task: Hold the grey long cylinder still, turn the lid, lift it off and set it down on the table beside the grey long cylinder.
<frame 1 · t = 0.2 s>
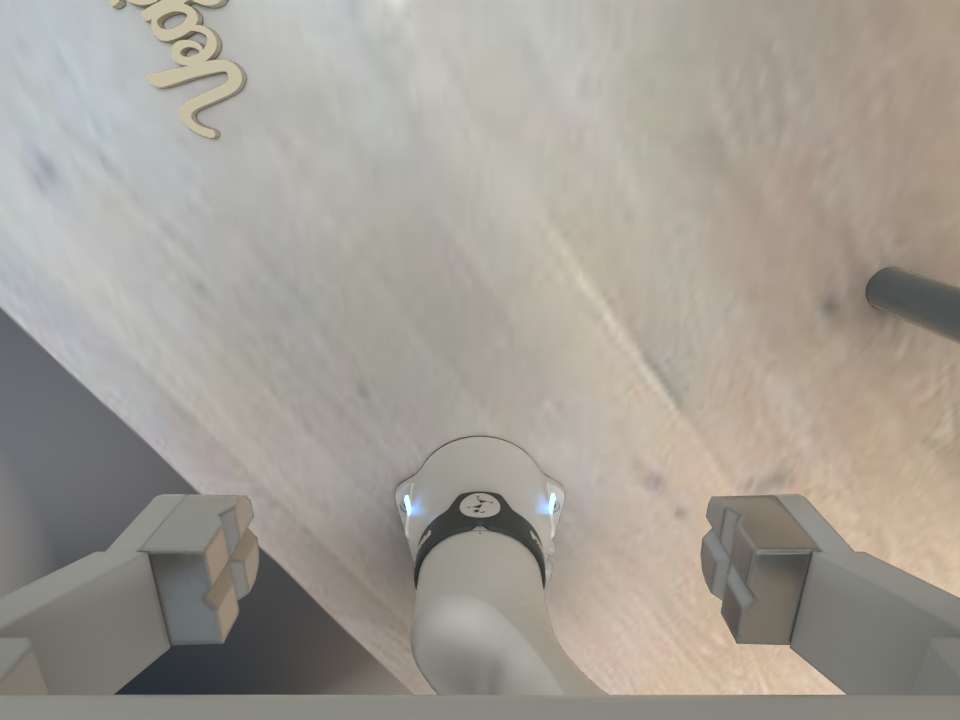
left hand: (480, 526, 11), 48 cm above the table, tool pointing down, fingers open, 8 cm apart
grey long cylinder: (888, 288, 58), on the table
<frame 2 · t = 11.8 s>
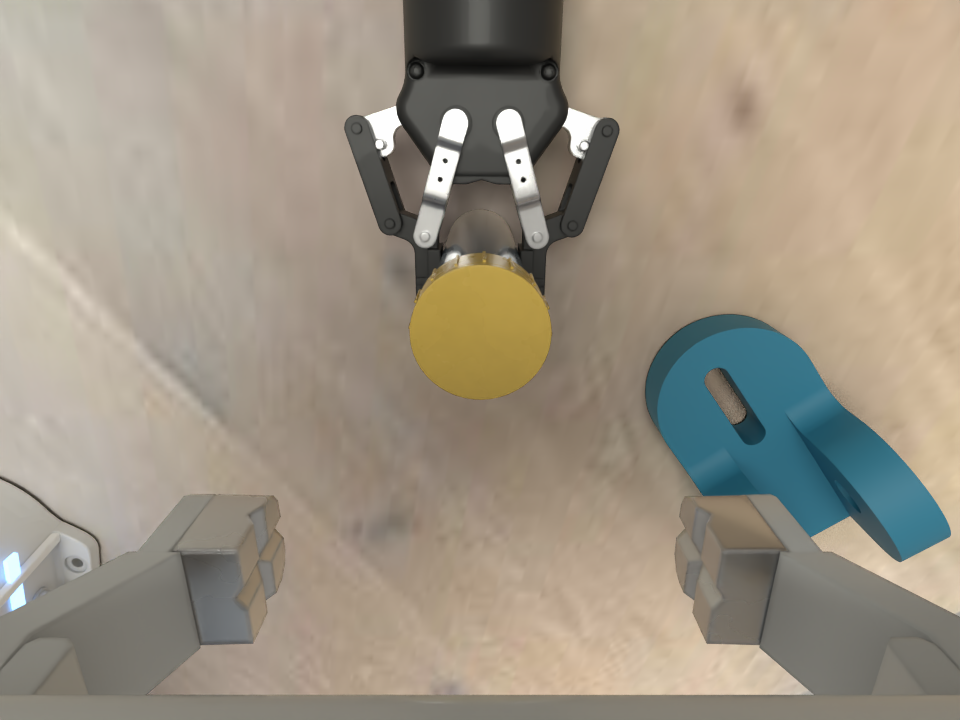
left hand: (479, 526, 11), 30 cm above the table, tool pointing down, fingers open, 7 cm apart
right hand: (480, 311, 33), fingers closed on grey long cylinder, 4 cm apart
camera mount: (743, 421, 43), on the table
grey long cylinder: (480, 242, 39), on the table, touching right hand
lid: (480, 332, 21), point 19 cm above the table, screwed on, not yet turned
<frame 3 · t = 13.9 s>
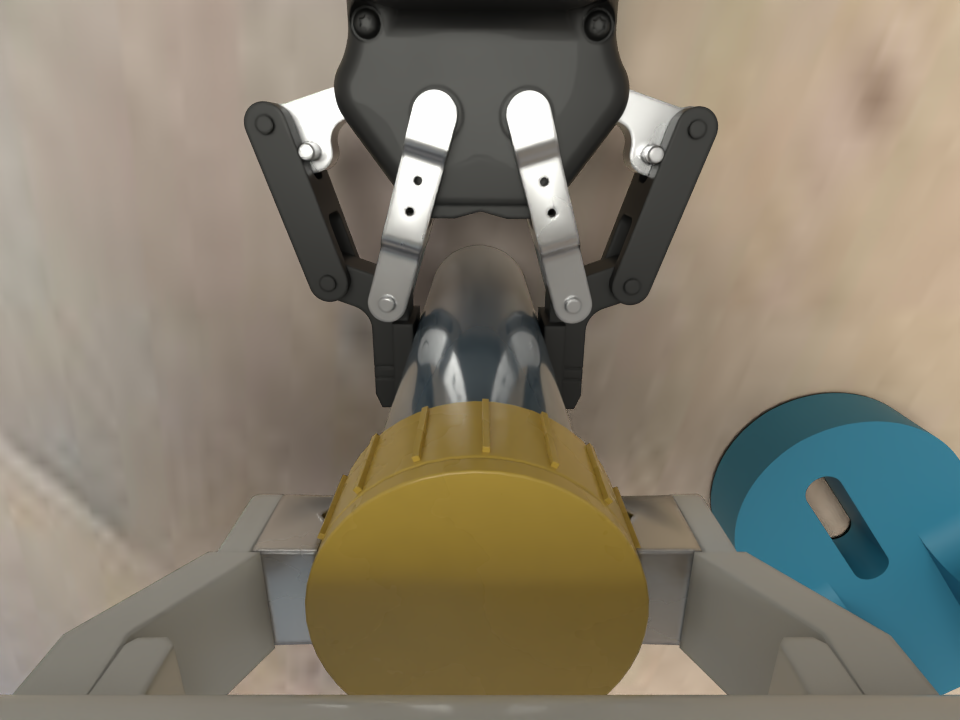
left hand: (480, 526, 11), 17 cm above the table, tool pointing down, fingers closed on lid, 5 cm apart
right hand: (479, 412, 21), fingers closed on grey long cylinder, 4 cm apart
camera mount: (844, 534, 31), on the table
grey long cylinder: (479, 292, 27), on the table, touching right hand
lid: (477, 602, 9), point 19 cm above the table, screwed on, not yet turned, touching left hand
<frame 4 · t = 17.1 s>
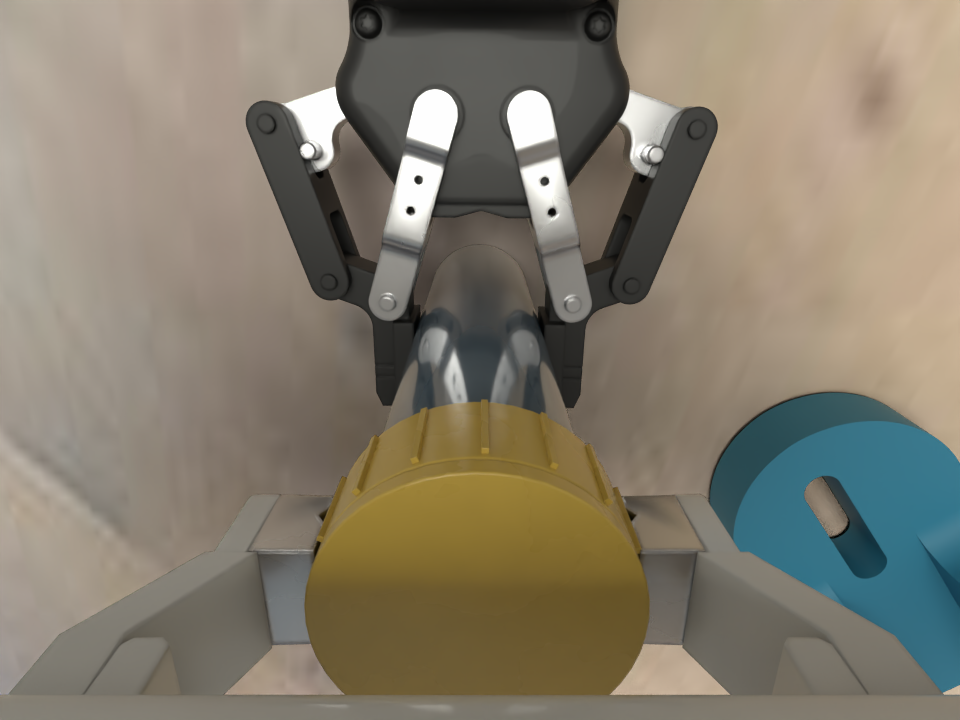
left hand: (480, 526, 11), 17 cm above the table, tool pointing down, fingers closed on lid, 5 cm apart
right hand: (479, 411, 21), fingers closed on grey long cylinder, 4 cm apart
camera mount: (843, 534, 31), on the table
grey long cylinder: (479, 291, 27), on the table, touching right hand
lid: (477, 604, 9), point 19 cm above the table, turned 68° so far, risen 0.1 cm, still on its thread, touching left hand
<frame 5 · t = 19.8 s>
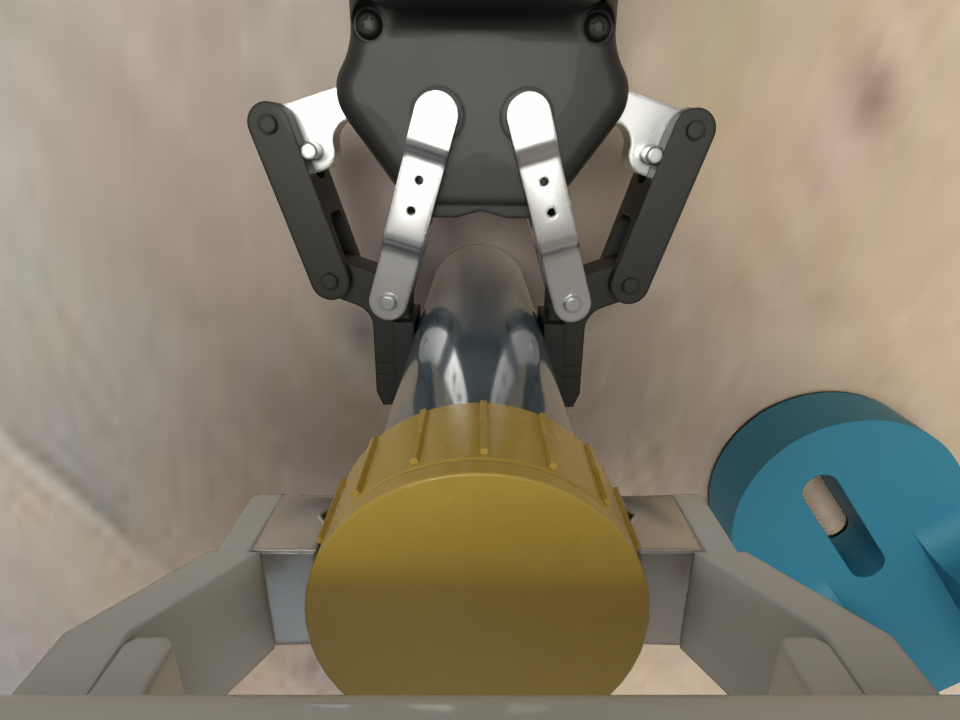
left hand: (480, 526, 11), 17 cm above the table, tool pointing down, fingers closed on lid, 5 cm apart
right hand: (478, 410, 21), fingers closed on grey long cylinder, 4 cm apart
camera mount: (841, 532, 31), on the table
grey long cylinder: (479, 291, 27), on the table, touching right hand
lid: (477, 605, 9), point 19 cm above the table, turned 136° so far, risen 0.2 cm, still on its thread, touching left hand
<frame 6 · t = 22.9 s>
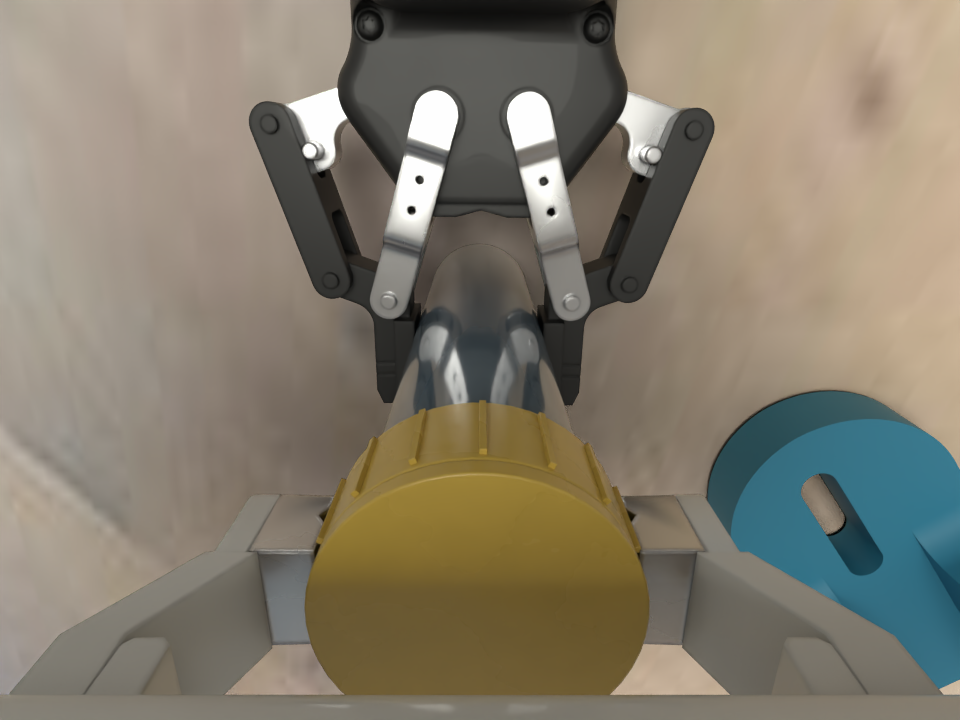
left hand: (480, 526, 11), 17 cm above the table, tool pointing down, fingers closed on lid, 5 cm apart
right hand: (478, 408, 22), fingers closed on grey long cylinder, 4 cm apart
camera mount: (839, 531, 31), on the table
grey long cylinder: (479, 290, 27), on the table, touching right hand
lid: (477, 604, 9), point 19 cm above the table, turned 204° so far, risen 0.3 cm, still on its thread, touching left hand
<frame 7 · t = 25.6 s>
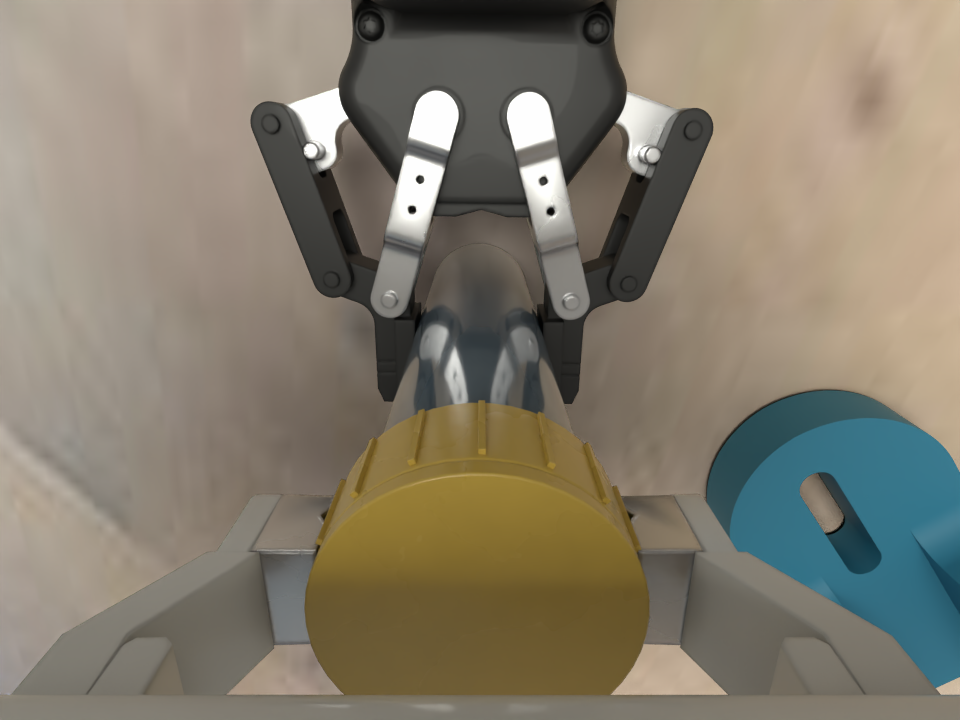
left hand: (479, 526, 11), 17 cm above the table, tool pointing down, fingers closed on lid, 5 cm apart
right hand: (478, 407, 22), fingers closed on grey long cylinder, 4 cm apart
camera mount: (838, 530, 32), on the table
grey long cylinder: (479, 290, 27), on the table, touching right hand
lid: (477, 605, 9), point 19 cm above the table, turned 272° so far, risen 0.5 cm, still on its thread, touching left hand
when the left hand's fingers open (2 cm above the table, at t = 36.4 s): lid drops 2 cm, point 2 cm above the table.
when the right hand's fingers open (7 cm above the table, at t = 37.4 s): grey long cylinder stays where it is, on the table.
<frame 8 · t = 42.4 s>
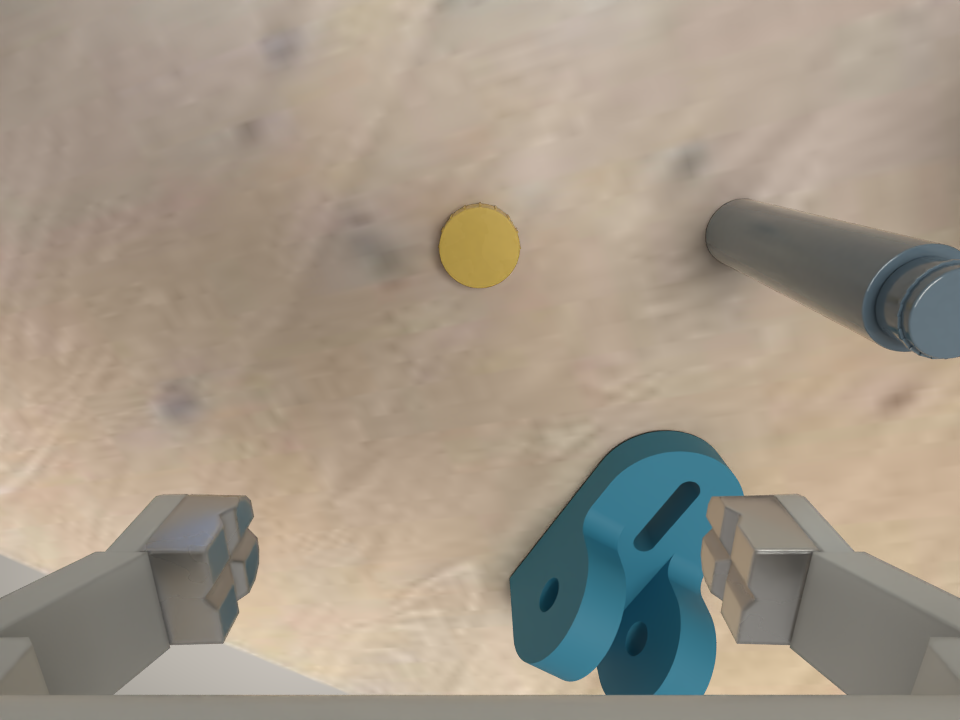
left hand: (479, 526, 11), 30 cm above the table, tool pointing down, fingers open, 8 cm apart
camera mount: (628, 525, 46), on the table
grey long cylinder: (738, 232, 38), on the table
lid: (479, 247, 37), point 2 cm above the table, off its thread
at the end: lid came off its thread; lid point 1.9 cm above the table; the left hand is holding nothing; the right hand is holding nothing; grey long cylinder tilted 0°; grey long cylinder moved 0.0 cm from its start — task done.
